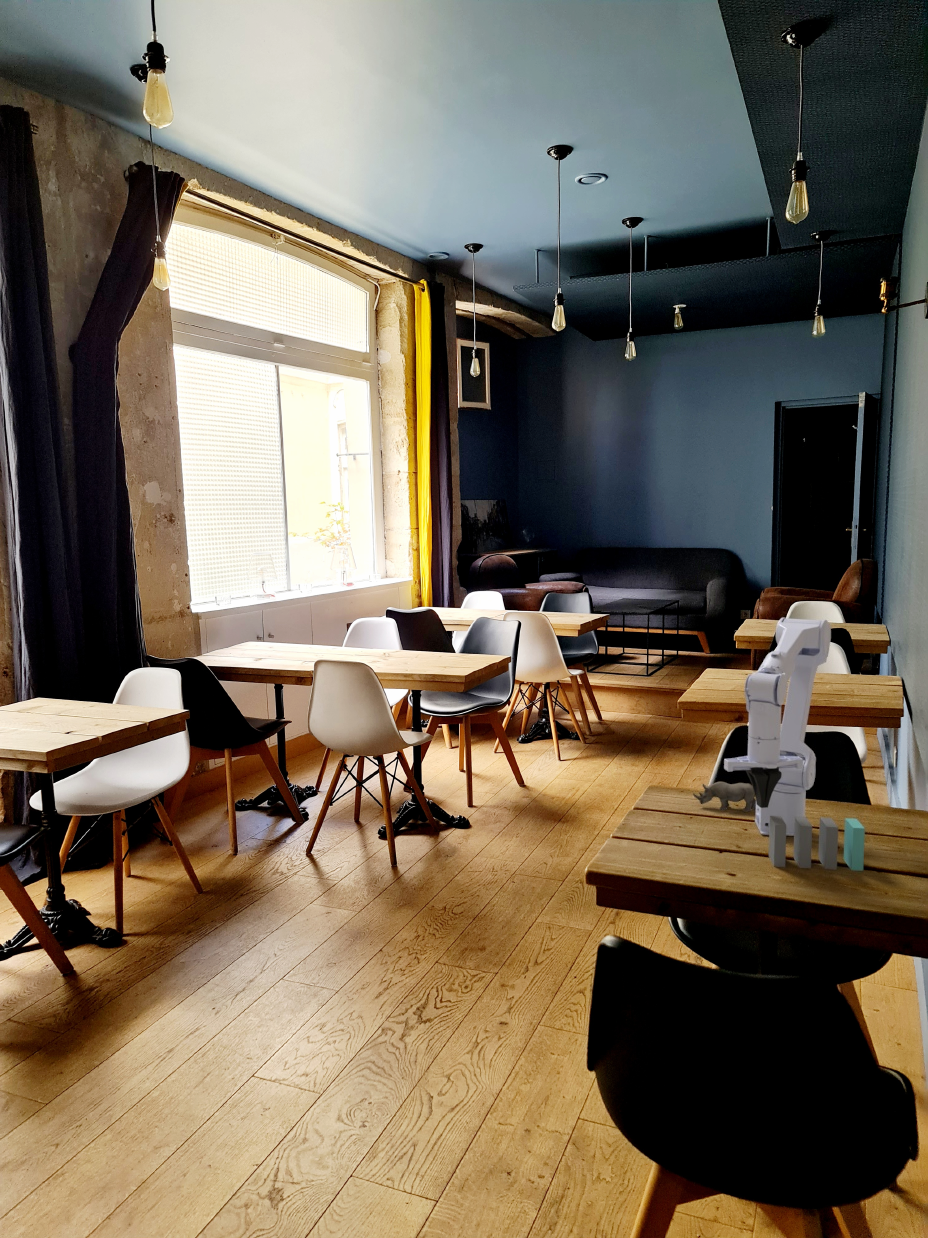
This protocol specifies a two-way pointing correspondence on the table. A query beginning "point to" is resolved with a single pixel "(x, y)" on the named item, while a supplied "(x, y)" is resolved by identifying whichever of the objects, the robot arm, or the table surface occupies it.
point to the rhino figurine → (729, 794)
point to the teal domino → (854, 844)
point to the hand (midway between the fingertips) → (762, 806)
